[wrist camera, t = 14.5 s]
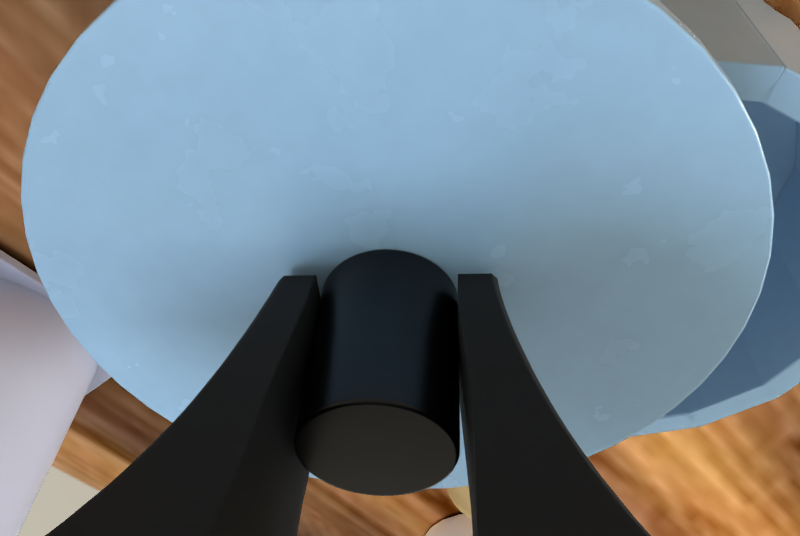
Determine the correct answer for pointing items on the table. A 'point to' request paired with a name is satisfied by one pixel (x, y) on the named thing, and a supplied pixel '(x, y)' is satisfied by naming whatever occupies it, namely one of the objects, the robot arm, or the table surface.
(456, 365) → the lid
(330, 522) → the table surface
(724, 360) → the pot
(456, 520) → the spray bottle
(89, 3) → the table surface
